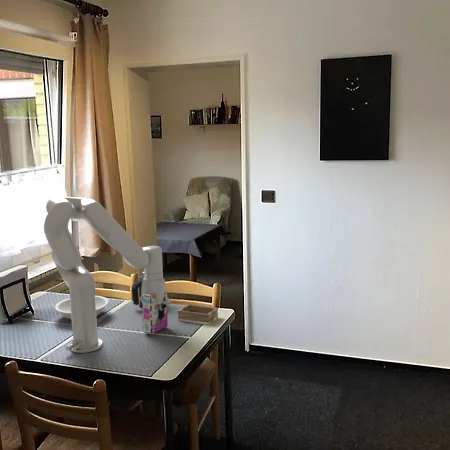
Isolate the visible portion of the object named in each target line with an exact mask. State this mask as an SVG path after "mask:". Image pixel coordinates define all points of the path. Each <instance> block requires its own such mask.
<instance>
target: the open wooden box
mask: <svg viewBox="0 0 450 450" xmlns="http://www.w3.org/2000/svg"><path fill="white" fill-rule="evenodd" d="M218 309H219V308H218V307H213V306H212V307H211V306H205V305H204V306H203V305H197V304H196V305H195V304H186V305H184V306H183V307H181V308H180V309H178V310H177V321H179V322H180V321H181V322H186V323H192V322H193V323H194V324H201V325H207V326H208V325H211V324H212V323H214V321H216V320H217V319H218V318H219V312H218V311H219V310H218Z"/></svg>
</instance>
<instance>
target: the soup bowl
mask: <svg viewBox="0 0 450 450" xmlns="http://www.w3.org/2000/svg"><path fill="white" fill-rule="evenodd" d="M109 303H110V300H109V298H107V297H105V296H102V295H95V307H96V317H97V316H99V315H100V314H101V313H102V312H104V309H105V308H106V307H107V306H108V305H109ZM54 310H55V311H56V312H59V314H60V315H62V317H64V318H66V319H68V320H71V310H70V297H68V298H67V299H62V300H61V301H58V302H57V303H56V304H55V306H54Z"/></svg>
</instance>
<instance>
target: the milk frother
mask: <svg viewBox="0 0 450 450" xmlns="http://www.w3.org/2000/svg"><path fill="white" fill-rule="evenodd" d="M137 278H138V280H136V281H134V283H132V285H131V295H132V303H133V305H135V306H139V307H140V308H142V302H141V301H140V300H139V298H140V296H141V291H142V282H143V279H144V278H145V277H144V275H142V273H140V274H139V275H138V276H137Z"/></svg>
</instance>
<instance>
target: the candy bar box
mask: <svg viewBox="0 0 450 450" xmlns="http://www.w3.org/2000/svg"><path fill="white" fill-rule="evenodd" d="M166 291H167V292H168V290H167V289H166ZM165 303H166V301H165V302H164V304H165ZM141 308H142V332H143V333H144V334H147V335H148V334H149V335H153V334H155V333H157V332H159V331H161V330H163V329H165V328H167V327H168V326H169V325H168V324H169V322H168V306H167V307H166V308H165V309H164V318H162V319H161V320H160V319H159V310H160V309H159V306H158V304H156V300H155V295H153V294H144V295H142V307H141Z"/></svg>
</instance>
